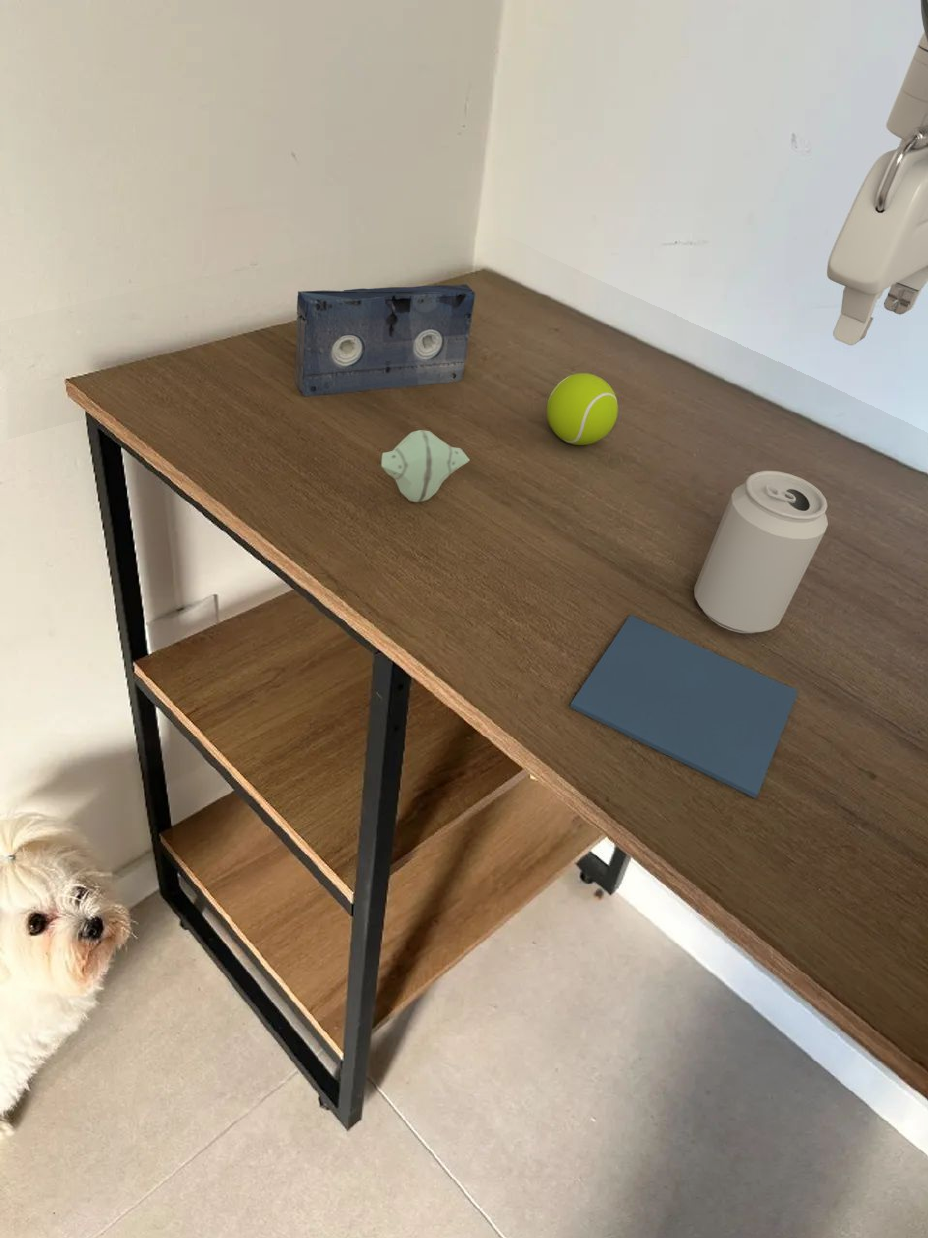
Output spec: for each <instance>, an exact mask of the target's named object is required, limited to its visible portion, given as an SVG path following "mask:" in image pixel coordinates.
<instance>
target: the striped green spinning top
mask: <svg viewBox="0 0 928 1238" xmlns="http://www.w3.org/2000/svg"><path fill="white" fill-rule="evenodd" d="M470 461H471V459H470V458H469V457H468V456H467V455H466V453H465V452H464V450H463V449H462V448H461V447H456V446H455V447H453V446H451V445H450V444H447V442H446V441H443V440H442V439H440V438H438V436H436V435H435V434H433V432H431V430H425V429H424V430H423V429H418V430H415V431H411V432H410V433H408V434H407V435H406V436H405V437H404V438H403V439H402V440H400V442H399V443H398V444H397V445H396V446H395V447H394V448H393V449H392V450H391V451H386V452H382V455H381V462H380V463H381V468H382V469H383V471H385V472H386V474H387V475H389V476H390V477H391V478H392V479H394V481H395V483H396V485H397V487H398V489H399V492H400V493H401V494H402V495H403V496H404V498H406V499H407V500H408V501H409V502H413V503H422V502H426V501H428V500H430V499H431V498H432V497H433V496H434V495H436V493H438V491H439V489H440V488H441V486H442V484H443V482H445V480H446V479H447V478H449V476H450V475H452V474H453V473H454V472H456V471H457V470H459V469H460V468H461V467H463V466H464V465H466V464H467V463H469V462H470Z"/></svg>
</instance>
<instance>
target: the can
mask: <svg viewBox="0 0 928 1238" xmlns="http://www.w3.org/2000/svg"><path fill="white" fill-rule="evenodd" d="M827 508H828V502H827V499H826V497H825V495H823V493H822V491H821V490H819V488H817V487H816V486H815V485H813V483H810V482H809V481H807V480H805V479H803V478H802V477H799V476H796V475H794V474H791V473H787V472H783V471H778V470H762V471H757V472H754V473H752V474H751V475H749V476H748V477H747V479H746V480H745V482H744V483H742V484H741V485H738V486H737V487H735V489H734V490H733V492H732V493H731V495H730V498H729V500H728V502H727V505H726V507H725V510H724V513H723V515H722V518H721V520H720V523H719V525H718V528H717V530H716V533H715V535H714V538H713V540H712V542H711V545H710V548H709V550H708V553H707V554H706V558H705V560H704V563H703V565H702V568H701V570H700V573H699V575H698V578H697V579H696V582H695V585H694V590H693V591H694V598H695V600H696V601H697V605H698V606H699V607H700V609H702V612H703V614H704V615H705V616H707V618H708V619H709V620H710V621H712V622H713V623H715V624H717V626H719V627H721V628H723V629H726V630H728V631H731V632H735V633H740V634H755V633H763V632H766V631H770V630H773V629H774V628H775V627H777V626H778V625H780V623H781V621H782V620H783V618H784V615H785V613H786V611H787V610H788V607H789V605H790V603H791V602H792V599H793V597H794V595H795V593H796V591H797V589H798V587H799V585H800V583H801V581H802V579H803V577H804V576H805V573H806V571H807V569H808V566H809V565H810V563H811V561H812V559H813V557H814V554H815V553H816V550H817V549H818V547H819V544H820V543H821V541H822V540H823V537H824V535H825V532H826V531H827V528H828V526H829V522H828V516H827V514H826V511H827Z"/></svg>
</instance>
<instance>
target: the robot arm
mask: <svg viewBox="0 0 928 1238" xmlns="http://www.w3.org/2000/svg"><path fill="white" fill-rule="evenodd" d="M920 11H921V12H920V13H921V21H922V26H923V31H924V32H923V34H922V35H921V37H920V39H919V41H918V44H917V47H916V48H915V52H914V54H913V56H912V58H911V62H910V64H909V66H908V68H907V71H906V74H905V76H904V79H903V81H902V84H901V86H900V89H899V91H898V94H897V96H896V99H895V101H894V103H893V105H892V109H891V112H890V113H889V116H888V118H887V120H886V124H885V126H886V129H887V130H888V131H889V132H890V133H891V134H892V135H894V136H895V137H897V138H899V139H900V140H899V141H900V142H899V144H898V147H897V148H895V149H891V150H888V151H887V152H884V153H883V154H882V155H880V156H879V157H878V158H877V159H876V160H875V162H874V163H873V165H872V166H871V168H870V169H869V171H868V173H867V174H866V176H865V177H864V180H863V183H862V184H861V186H860V188H859V190H858V192H857V194H856V196H855V198H854V200H853V202H852V205H851V207H850V209H849V212H848V214H847V216H846V218H845V221H844V222H843V225H842V227H841V229H840V231H839V234H838V236H837V238H836V241H835V242H834V245H833V247H832V250H831V251H830V254H829V257H828V261H827V267H826V268H827V269H826V277H827V278H828V279H829V280H830V281H832V282H834V283H836V284H838V285H841V286H843V287H844V288H843V291H842V299H841V305H840V306H841V307H840V315H839V317H838V320H837V322H836V324H835V326H834V329H833V332H832V336H833V337H834V340H836V341H839V342H841V343H844V344H846V345H848V346H854V345H856V344H858V343H859V342H860V341H862V340H863V339H865V337H866V336H867V333H868V331H869V329H870V327H871V325H872V322H873V320H874V317H872V315H873V313H874V310H875V307H876V304H877V302H878V300H879V299H881V298H882V296H883V293H884V291H886V289H888V288H889V291H888V293H887V296H886V297H885V299H884V302H883V307H884V309H885V310H887V311H889V312H892V313H895V314H896V315H899V316H900V315H903V314H905V313H908V312H909V311H910V310H912V309H913V308H914V306H915V304H916V302H917V300H918V298H919V296H920V294H921V291H922V290H923V288H924V287H925V286H926V284H927V283H928V0H920Z"/></svg>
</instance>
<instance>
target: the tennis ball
mask: <svg viewBox="0 0 928 1238" xmlns="http://www.w3.org/2000/svg"><path fill="white" fill-rule="evenodd" d="M618 404H619V403H618V399H617V396H616V393H615V391H614V390H613V388H612V386H610V384H609V383H608V382H606V380H604V379H603V378H601V377H599V376H597V375H595V374H592V373H587V372H586V373H585V372H579V373H574V374H571V375H568V376H567V377H564V378H563V379H562V380H560V381H559V382H558V383H557V384H556V385H555V386H554V387H553V389H552V391H551V392H550V395H549V396H548V400H547V404H546V416H547V417H546V418H547V421H548V424H549V427H550V428H551V430H552V432H553V433H554V434H555V435H556V436H557V437H558V438H559V439H560V440H562V441H564V442H565V443H568V444H571V445H575V446H587V445H592V444H594V443H597V442H599V441H600V440H602V439H604V438H605V437H606V436H608V434H609V433H610V431H611V430H612V429H613V427H614V425H615V423H616V420H617V417H618V412H619V407H618Z"/></svg>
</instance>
